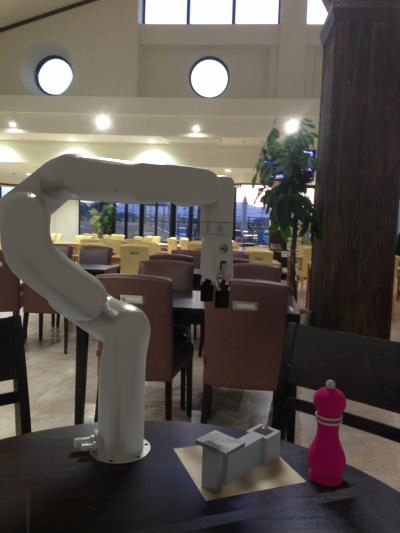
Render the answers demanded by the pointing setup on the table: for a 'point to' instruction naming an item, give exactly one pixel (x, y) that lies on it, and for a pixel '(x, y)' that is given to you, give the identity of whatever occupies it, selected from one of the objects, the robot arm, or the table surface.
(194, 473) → the base board
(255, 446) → the link
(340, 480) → the pepper mill
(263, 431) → the post
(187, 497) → the table surface
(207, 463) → the block
